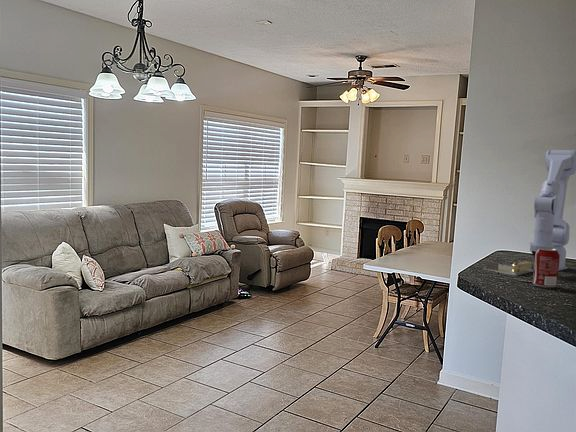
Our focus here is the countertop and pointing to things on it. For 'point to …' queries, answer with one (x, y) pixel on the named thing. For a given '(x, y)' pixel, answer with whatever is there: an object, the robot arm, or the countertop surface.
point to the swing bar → (521, 266)
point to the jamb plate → (508, 269)
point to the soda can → (546, 267)
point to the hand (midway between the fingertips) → (540, 270)
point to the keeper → (494, 266)
